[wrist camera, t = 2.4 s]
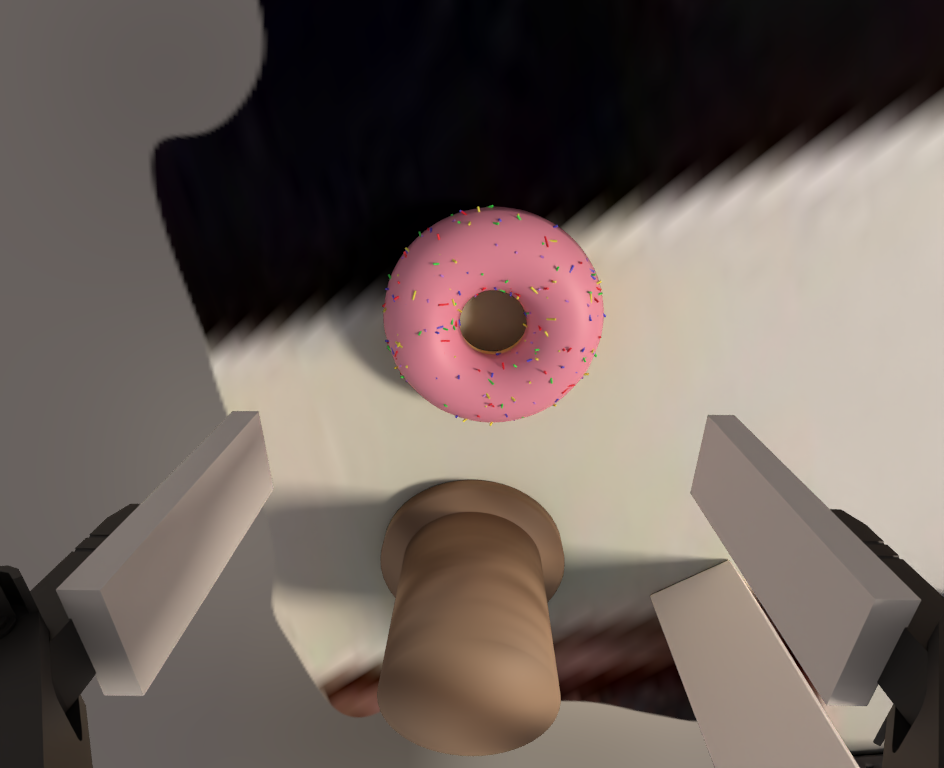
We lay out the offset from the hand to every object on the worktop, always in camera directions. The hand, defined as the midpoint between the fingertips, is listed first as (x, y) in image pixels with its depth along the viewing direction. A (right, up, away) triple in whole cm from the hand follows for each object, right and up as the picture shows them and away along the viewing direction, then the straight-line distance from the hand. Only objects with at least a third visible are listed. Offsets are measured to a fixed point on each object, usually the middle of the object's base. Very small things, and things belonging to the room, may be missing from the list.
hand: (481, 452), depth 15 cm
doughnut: (+1, +6, +12) cm, 13 cm away
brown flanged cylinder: (0, -9, +19) cm, 21 cm away
